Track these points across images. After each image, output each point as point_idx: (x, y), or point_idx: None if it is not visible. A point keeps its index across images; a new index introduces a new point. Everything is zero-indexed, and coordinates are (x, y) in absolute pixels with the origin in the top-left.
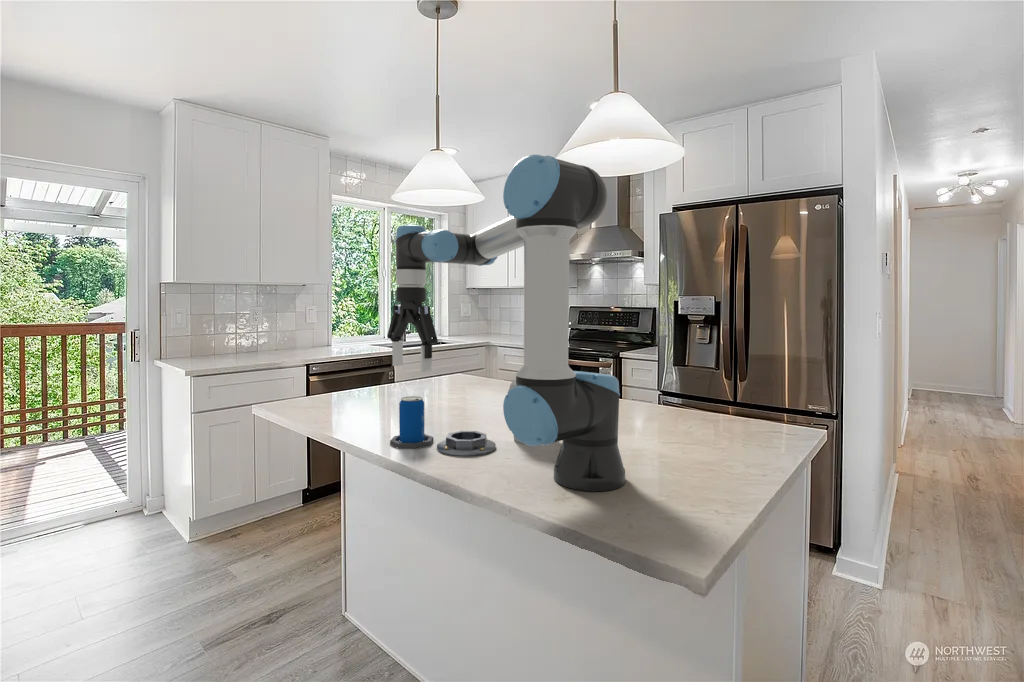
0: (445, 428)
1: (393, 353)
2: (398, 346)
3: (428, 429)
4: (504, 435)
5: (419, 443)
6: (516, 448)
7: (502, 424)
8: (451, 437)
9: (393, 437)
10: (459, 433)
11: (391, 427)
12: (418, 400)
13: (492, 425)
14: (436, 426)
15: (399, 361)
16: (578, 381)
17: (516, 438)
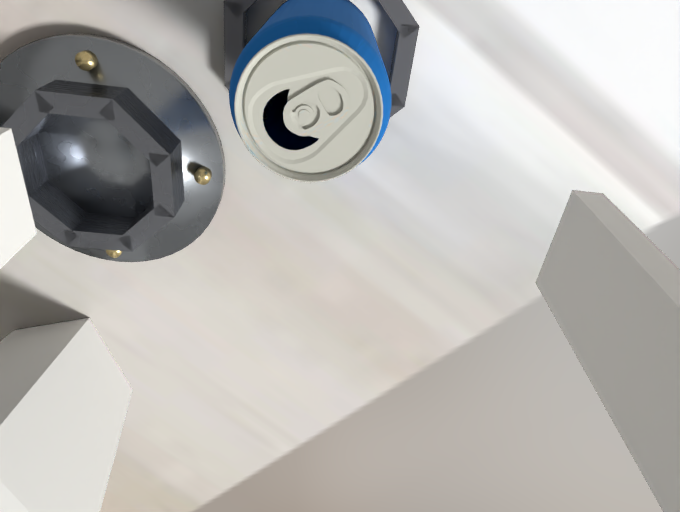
0: (394, 286)
1: (658, 271)
2: (664, 403)
3: (436, 239)
4: (171, 343)
5: (224, 23)
6: (6, 266)
7: (287, 419)
8: (96, 115)
9: (402, 4)
10: (154, 192)
11: (596, 162)
12: (234, 109)
13: (300, 396)
14: (444, 284)
15: (563, 274)
16: None
17: (75, 325)
